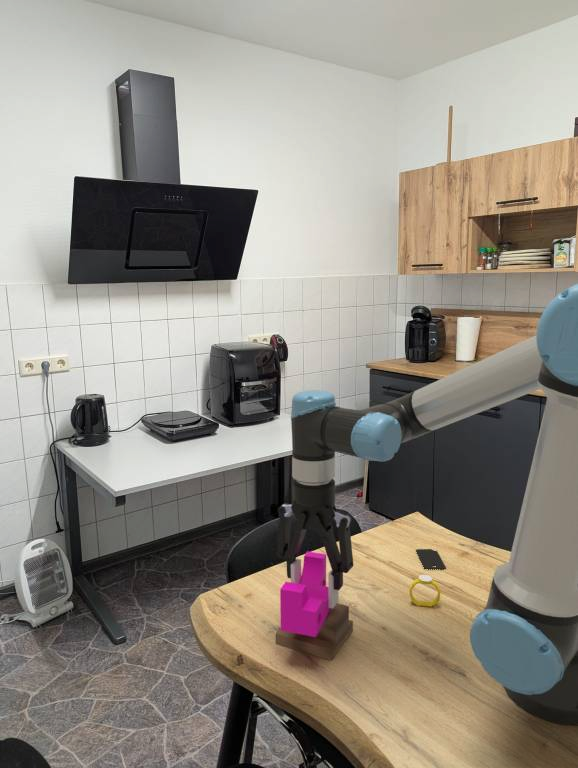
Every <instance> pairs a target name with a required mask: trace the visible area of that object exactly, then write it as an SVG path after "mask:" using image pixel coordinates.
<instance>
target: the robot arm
mask: <svg viewBox="0 0 578 768" xmlns="http://www.w3.org/2000/svg"><path fill="white" fill-rule="evenodd" d="M540 389H541V391H542V392H543V393H544V395H545V396H546V402H545V405H544V411H543V416H542V420H541V423H540V427H539V428H540V429H539V432H538V437H537V442H536V443H535V444H536V445H535V448H534V449H535V450H534V453H533V459H532V461H531V466H530V471H529V475H528V478H527V479H528V480H527V483H526V487H525V492H524V495H523V496H524V497H523V501H522V505H521V508H520V514H519V518H518V521H517V526H516V529H515V534H514V539H513V544H512V547H511V551H510V556H509V559H508V561H507V562H505V563H502V564H500V565H498V566H497V567H496V568H495V569H494V572H493V577H492V580H491V586H490V588H489V594H488V598H487V602H486V605H485V607H484V609H483V610H482V611H480V612H479V613H478V614H477V615H476V616H475V618H474V619H473V622H472V624H471V626H470V631H469V642H470V647H471V649H472V652H473V654H474V657H475V658H476V659H477V660H478V661H479V662H480V664H481V667H482V668H483V670H484V671H485V672H486V673H487V675H489V676H490V677H491V678H492V679H493V680H494V681H496V682H497V684H500V685H501V686H503V688H504V690H505V692H506V693H507V695H508V696H509V697H510V698H511V699H512V700H513V702H514V703H516V704H517V705H519V707H521V708H522V709H524V710H525V711H527V712H529V713H530V714H531V715H534V716H535V717H539V718H540V719H544V720H546V721H549V722H552V723H556V724H561V725H562V724H563V725H569V726H570V725H571V726H572V725H573V726H578V283H576V284H574V285H572V286H570V287H568V288H567V289H565V290H563V291H562V292H559V294H558V295H556V296H555V297H554V298H552V300H551V301H550V302H549V303H548V304H547V305H546V307H545V309H544V311H543V312H542V314H541V316H540V318H539V320H538V324H537V328H536V335H534V336H532V337H529V338H527V339H525V340H523V341H520V342H518V343H516V344H514V345H512V346H510V347H508V348H505V349H503V350H501V351H499V352H497V353H494V354H492V355H490V356H488V357H486V358H484V359H481V360H480V361H477V362H475V363H473V364H470V365H469V366H466V367H464V368H462V369H459V370H458V371H455V372H453V373H451V374H449V375H447V376H445V377H443V378H440V379H438V380H436V381H434V382H432V383H429V384H427V385H425V386H422V387H421V388H417V390H415V391H412V392H409V393H407V394H405V395H402V396H401V397H399V398H396V399H394V400H391V401H388V402H384V403H381V404H377V405H373V406H369V407H367V408H364V409H353V408H352V409H351V408H345V407H340V406H337V405H336V404H337V403H336V397H335V394H334V393H332V392H329V391H327V390H313V389H312V390H303V391H299V392H297V393H295V394H294V395H293V397H292V398H291V415H290V420H291V421H290V422H291V441H292V442H291V445H292V446H291V448H292V450H291V451H292V453H291V457H292V459H291V461H292V462H291V467H292V469H291V471H292V473H291V476H292V478H293V480H292V482H291V483H292V500H293V502H292V504H289V503H287V502H285V503H283V504H281V506H279V507H278V508H277V514H278V519H279V521H278V523H279V524H278V534H277V535H278V536H277V549H276V556H277V558H279V559H284V560H285V562H286V577H287V578H288V579H290V582H291V583H297V584H299V583H300V580H301V576H302V559H301V558H298V557H299V556H300V554H299V552H300V550H301V547H302V544H303V541H304V538H305V535H306V532H307V530H308V531H310V530H312V531H314V532H316V533H317V534H318V537H319V538H320V539H321V541H322V544H323V547H324V549H325V554H326V557H327V559H328V561H329V566H330V568H331V570H330V571H329V572H328V576H327V577H328V579H327V580H328V584H327V585H328V586H327V587H328V596H329V608H332V609H333V607H334V606H335V605H336V604H337V603H338V604H339V591H340V590H341V588H343V586H344V574H347V573H348V572H349V571H351V570H352V569H353V567H354V557H353V547H352V538H351V537H352V536H351V523H352V515H351V514H349V513H347V514H342V513H340V512H338V510H337V508H336V504H335V503H336V481H335V480H334V478H335V476H336V459H335V458H336V453H338V454H343V455H347V456H352V457H355V458H359V459H362V460H365V461H375V462H380V463H381V462H387V461H390V460H392V459H393V458H394V456H395V454H396V453H397V452H398V451H399V449H400V446H401V444H402V443H406V442H409V441H411V440H414V439H417V438H420V437H422V436H424V435H425V434H429V433H432V432H433V431H435V430H439V429H440V428H443V427H446V426H448V425H451V424H454V423H456V422H459V421H461V420H464V419H466V418H469V417H471V416H473V415H476V414H479V413H482V412H485V411H487V410H489V409H492V408H494V407H498V406H500V405H502V404H505V403H508V402H510V401H513V400H515V399H518V398H520V397H524V396H525V395H528V394H531V393H533V392H536V391H538V390H540ZM293 515H294V517H295V518H296V520H297V522H296V525H295V527H294V534H293V536H292V539H290V538H291V530H292V529H291V528H292V516H293ZM333 521H335V522H336V527H337V528H338V529H337V534H338V535H337V536H338V543H337V540H336V536H335V533H334V527H333V523H332V522H333ZM290 540H291V541H290ZM290 542H291V543H290ZM338 545H339V546H338Z"/></svg>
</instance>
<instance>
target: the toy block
mask: <svg viewBox="0 0 578 768" xmlns="http://www.w3.org/2000/svg"><path fill="white" fill-rule="evenodd" d="M302 565H303V566H302V570H301V580H300V583H299V584H297V583H291V581H290V582H289V581H285V582H284V583H283V584H282V586H281V588H280V589H279V595H280V600H279V602H280V604H279V605H280V607H279V608H280V610H281V611H280V628H281V630H282V631H287V632H292V633H297V634H302V635H307V636H312V637H316V636H317V634H318V633H319V631H320V629H321V627H322V625H323V623H324V621H325V619H326V617H327V615H328V613H329V611H330V609H331V608H329V596H328V586H327V553H322V552H321V553H320V552H314V551H309V550H307V551H306V552H305V554H304V555H303V564H302Z"/></svg>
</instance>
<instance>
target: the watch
mask: <svg viewBox="0 0 578 768" xmlns="http://www.w3.org/2000/svg"><path fill="white" fill-rule="evenodd" d="M418 584H423V585H432V586H434V587H435V589H436V590H437V595H436V597H435V599H434V600H432V601H419V600H417V599H416V598H415V597H414V595H413V588H414V587H415V586H416V585H418ZM440 589H441V588H440V586H439V584H438V583H437V582H436V580H433V577H432V576H430V575H427V574H420V575H419V576H418V578H416V579H414V580H413V581H412V582H411V584H410V586H409V592H408V593H409V597H410V599H411V601H412V603H413V604H414V605H415V606H417V607H419V606H420V607H429V608H432V607H434V606H436V605H437V604H438V603H439V600H440V599H441V590H440Z"/></svg>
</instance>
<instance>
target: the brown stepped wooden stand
mask: <svg viewBox="0 0 578 768" xmlns="http://www.w3.org/2000/svg"><path fill="white" fill-rule="evenodd" d="M279 612H281V610H280V611H279ZM353 631H354V621H353V620H352V619H350V605H345V604H341V603H339V602H338V603H337V604H336V605H335V606H334V607H333V609H332V608H331V609H330V611H329V613H328V615H327V617H326V619H325V621H324V623H323V625H322V627H321V629H320V631H319V633H318V634H317V636H316V637H312V636H307V635H302V634H297V633H292V632H287V631H282V630H281V627H280V628H279V629H277V631H276V632H275V644H276V645H278V646H283V647H286V648H289V649H292V650H296V651H299V652H302V653H305V654H308V655H312V656H314V657H318V658H321V659H324V660H328V661H332V660H333V659H334V657H335V656H336V654H337V653H339V650H340V649H341V647H343V645H344V643H346V641H347V640H348V638H349V637H350V635H351V634H352V633H353Z"/></svg>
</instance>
